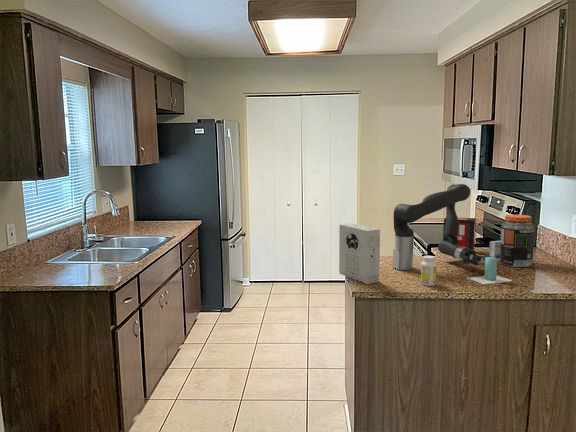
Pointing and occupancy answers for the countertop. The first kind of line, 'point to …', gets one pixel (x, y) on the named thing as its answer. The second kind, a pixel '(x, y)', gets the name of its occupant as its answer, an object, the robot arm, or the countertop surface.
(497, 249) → the medicine box
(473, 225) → the cleaning product box
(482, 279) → the mat
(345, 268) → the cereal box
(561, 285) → the countertop surface
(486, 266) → the teal wooden pin
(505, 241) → the supplement tub
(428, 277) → the supplement bottle
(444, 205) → the robot arm
